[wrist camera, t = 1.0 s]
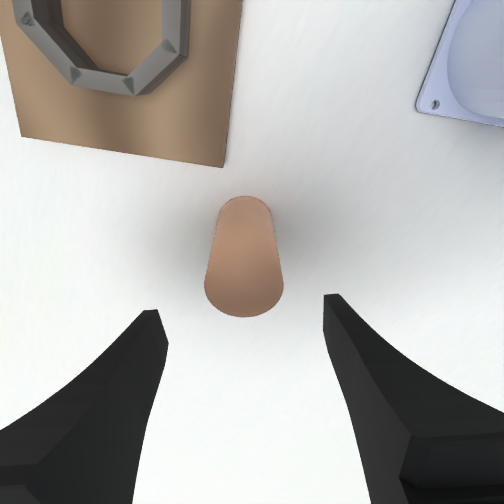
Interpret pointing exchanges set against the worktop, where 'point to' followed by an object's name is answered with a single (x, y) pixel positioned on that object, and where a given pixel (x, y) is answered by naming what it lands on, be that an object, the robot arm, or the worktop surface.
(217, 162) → the holder
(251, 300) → the peg
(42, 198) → the worktop surface
